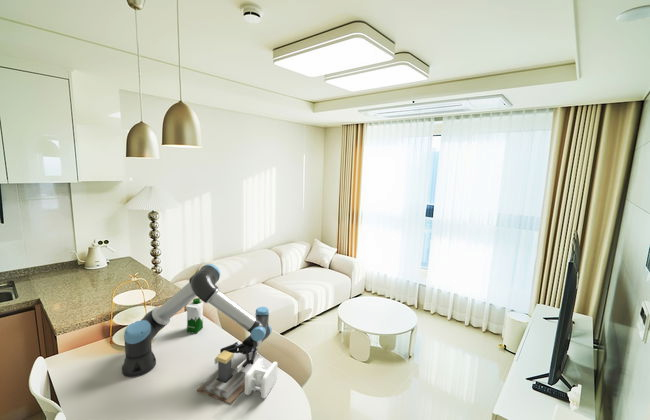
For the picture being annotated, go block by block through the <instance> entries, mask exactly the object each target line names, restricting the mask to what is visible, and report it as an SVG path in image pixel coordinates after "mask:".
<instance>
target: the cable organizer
mask: <svg viewBox="0 0 650 420" xmlns="http://www.w3.org/2000/svg"><path fill="white" fill-rule="evenodd" d="M265 367H266V366H264V359H263V358H260V357H259V358H258V359H257V360H256V361H255V362H254V363H253V365H252V366H251V368H249V370H248V371H247V372H245V389H244V395H246V396H250V395H251V393H254V392H256V390H257V387H258V388H260V390H259V392H260V393H259V394H261V395H260V396H261V398H262V399H266V398H267V397H268V395H269V393H270V392H271V390H272V389H273V387H274V385H275V384H276V383H277V379H278V362H277V361H273V362H272V363H271V365H270V367H268V369H265ZM253 391H254V392H253Z"/></svg>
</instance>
